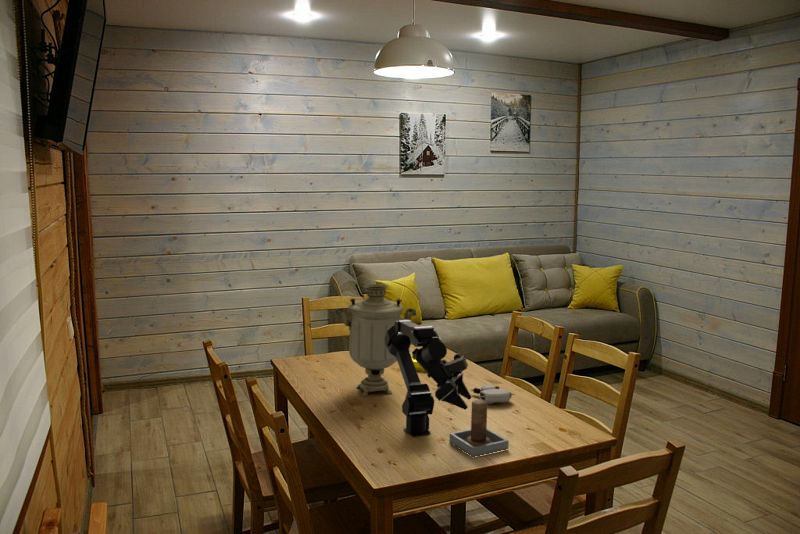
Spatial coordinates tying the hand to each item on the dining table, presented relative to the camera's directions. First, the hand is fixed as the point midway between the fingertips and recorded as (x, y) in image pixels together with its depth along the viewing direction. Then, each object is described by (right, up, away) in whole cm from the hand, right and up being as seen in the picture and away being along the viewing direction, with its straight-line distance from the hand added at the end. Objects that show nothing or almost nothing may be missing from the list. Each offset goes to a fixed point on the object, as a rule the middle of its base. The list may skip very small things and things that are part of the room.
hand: (468, 403), depth 200 cm
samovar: (-29, -6, +54) cm, 62 cm away
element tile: (-11, -2, +85) cm, 85 cm away
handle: (+3, -12, +1) cm, 13 cm away
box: (+3, -13, +1) cm, 13 cm away
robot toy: (+13, -8, +43) cm, 46 cm away
